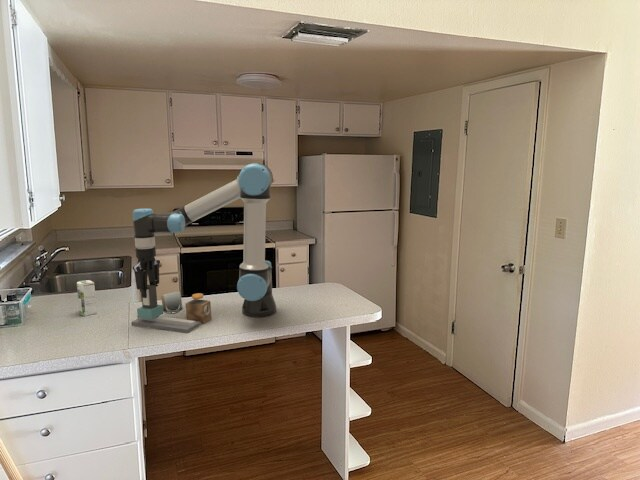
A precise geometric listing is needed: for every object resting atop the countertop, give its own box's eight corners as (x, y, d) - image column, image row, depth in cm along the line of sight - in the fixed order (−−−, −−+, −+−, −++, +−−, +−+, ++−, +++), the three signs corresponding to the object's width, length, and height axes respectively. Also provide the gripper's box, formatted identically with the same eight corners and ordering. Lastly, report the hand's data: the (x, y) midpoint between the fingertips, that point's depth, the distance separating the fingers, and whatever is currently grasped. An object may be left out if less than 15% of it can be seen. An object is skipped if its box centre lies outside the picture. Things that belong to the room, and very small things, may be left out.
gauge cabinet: (212, 319, 187) (211, 300, 186) (204, 324, 181) (203, 304, 180) (195, 317, 190) (194, 298, 188) (186, 321, 184) (185, 302, 183)
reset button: (205, 296, 185) (205, 293, 185) (199, 299, 181) (199, 296, 181) (196, 295, 187) (196, 292, 187) (190, 298, 183) (189, 295, 182)
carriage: (163, 313, 185) (161, 284, 182) (151, 319, 178) (149, 288, 176) (149, 312, 187) (147, 282, 185) (137, 317, 180) (135, 287, 178)
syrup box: (78, 313, 195) (75, 281, 193) (93, 310, 200) (89, 279, 197) (83, 316, 192) (79, 284, 189) (97, 313, 196) (94, 281, 193)
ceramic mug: (161, 307, 202) (160, 291, 201) (180, 305, 206) (179, 289, 205) (164, 315, 193) (163, 298, 192) (184, 312, 197) (183, 295, 195)
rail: (200, 325, 180) (200, 318, 180) (187, 333, 172) (186, 325, 171) (147, 318, 189) (146, 311, 189) (131, 325, 181) (131, 318, 180)
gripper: (151, 243, 186) (155, 297, 190) (122, 250, 171) (128, 308, 175) (166, 244, 184) (170, 298, 188) (138, 251, 169) (143, 310, 173)
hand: (149, 303), depth 182 cm, fingers closed on carriage, 3 cm apart
